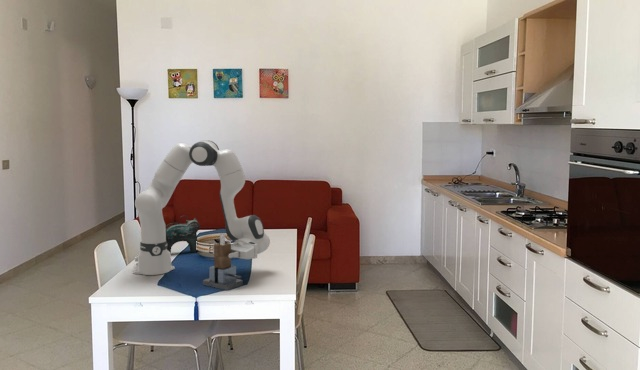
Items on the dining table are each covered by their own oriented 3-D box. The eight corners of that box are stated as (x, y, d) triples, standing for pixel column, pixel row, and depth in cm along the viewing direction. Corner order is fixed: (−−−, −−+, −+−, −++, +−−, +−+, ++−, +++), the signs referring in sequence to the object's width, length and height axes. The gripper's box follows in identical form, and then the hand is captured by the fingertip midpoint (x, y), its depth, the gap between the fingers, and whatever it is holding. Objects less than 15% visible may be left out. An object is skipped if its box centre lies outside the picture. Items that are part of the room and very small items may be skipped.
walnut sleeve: (214, 267, 242) (214, 244, 241) (222, 264, 246) (222, 242, 245) (223, 268, 239) (222, 245, 238) (231, 266, 243) (230, 243, 242)
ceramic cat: (197, 249, 306) (197, 213, 304) (201, 252, 301) (201, 215, 298) (161, 254, 295) (160, 216, 293) (164, 257, 290) (164, 218, 288)
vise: (202, 284, 243) (202, 234, 241) (219, 279, 252) (218, 230, 249) (232, 291, 234) (231, 239, 231) (248, 285, 242) (247, 235, 240)
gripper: (225, 238, 258) (203, 244, 247) (260, 244, 247) (238, 250, 235) (225, 251, 259) (203, 258, 247) (260, 258, 248) (238, 265, 236)
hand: (221, 254), depth 241 cm, fingers open, 7 cm apart
